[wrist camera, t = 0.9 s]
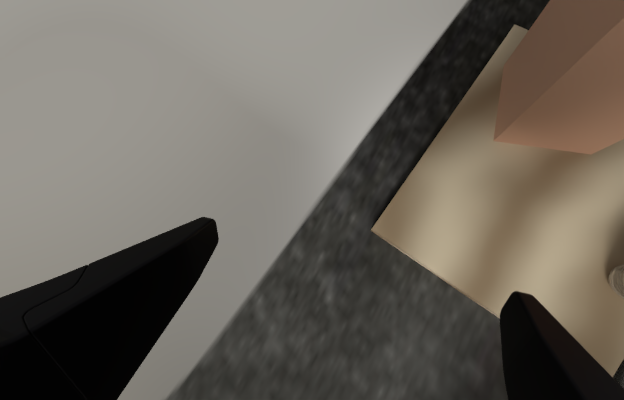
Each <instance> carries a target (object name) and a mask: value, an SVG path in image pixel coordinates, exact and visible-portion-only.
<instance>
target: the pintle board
mask: <svg viewBox="0 0 624 400" xmlns="http://www.w3.org/2000/svg"><path fill="white" fill-rule="evenodd" d="M528 31H529V30H527V29H524V28H522V27H520V26H517V25H514V26H513V27H512V29H511V30H510V32H509V33H508V35H507V36H506V37H505V39H504V40H503V42H502V43H501V45H500V46H499V47H498V49H497V50H496V52H495V53H494V55H493V56H492V58H491V59H490V60H489V62H488V63H487V65H486V66H485V68H484V69H483V70H482V72H481V73H480V75H479V76H478V78H477V79H476V80H475V82H474V83H473V85H472V86H471V88H470V89H469V90H468V92H467V93H466V95H465V96H464V98H463V99H462V100H461V102H460V103H459V105H458V106H457V108H456V109H455V110H454V112H453V113H452V115H451V116H450V118H449V119H448V120H447V122H446V123H445V125H444V126H443V128H442V129H441V130H440V132H439V133H438V135H437V136H436V138H435V139H434V140H433V142H432V143H431V145H430V146H429V148H428V149H427V150H426V152H425V153H424V155H423V156H422V158H421V159H420V161H419V162H418V163H417V165H416V166H415V168H414V169H413V171H412V172H411V173H410V175H409V176H408V178H407V179H406V181H405V182H404V183H403V185H402V186H401V188H400V189H399V191H398V192H397V193H396V195H395V196H394V198H393V199H392V201H391V202H390V203H389V205H388V206H387V208H386V209H385V211H384V212H383V213H382V215H381V216H380V218H379V219H378V221H377V222H376V223H375V225H374V226H373V228H372V229H371V231H372V232H374V233H375V234H377V235H378V236H379V237H381V238H382V239H384V240H385V241H387V242H388V243H390V244H391V245H393V246H394V247H396V248H397V249H398V250H400V251H401V252H403V253H404V254H406V255H407V256H409V257H410V258H412V259H413V260H415V261H416V262H417V263H419V264H420V265H422V266H423V267H425V268H426V269H428V270H429V271H431V272H432V273H434V274H435V275H436V276H438V277H439V278H441V279H442V280H444V281H445V282H447V283H448V284H450V285H451V286H453V287H454V288H455V289H457V290H458V291H460V292H461V293H463V294H464V295H466V296H467V297H469V298H470V299H472V300H473V301H474V302H476V303H477V304H479V305H480V306H482V307H483V308H485V309H486V310H488V311H489V312H491V313H492V314H493V315H495V316H496V317H498V318H499V319H500V312H501V309H502V307H503V306H504V304H505V303H506V301H507V299H508V298H509V296H510V295H511V293H512V292H514V291H519V292H524V293H528V294H531V295H533V296H534V297H535V298H536V299H537V300H538V301H539V302H540V303H541V304H542V305H543V306H544V307H545V308H546V309H547V310H548V311H549V312H550V313H551V314H552V315H553V316H554V317H555V319H556V320H557V321H558V322H559V323H560V324H561V325H562V326H563V327H564V328H565V329H566V330H567V331H568V332H569V333H570V334H571V335H572V336H573V337H574V338H575V339H576V340H577V341H578V342H579V343H580V344H581V345H582V346H583V347H584V348H585V349H586V350H587V352H588V353H589V354H590V355H591V356H592V357H593V358H594V359H595V360H596V361H597V362H598V363H599V364H600V365H601V366H602V367H603V368H604V369H605V370H606V371H607V372H608V373H609V374H610V375H611V376H612V377H613V376H614V374H615V373H616V371H617V369H618V368H619V366H620V364H621V363H622V361H623V359H624V139H623V140H621V141H618V142H616V143H614V144H612V145H610V146H608V147H606V148H604V149H602V150H600V151H598V152H595V153H593V154H591V155H590V154H583V153H576V152H569V151H562V150H554V149H547V148H540V147H533V146H526V145H519V144H511V143H504V142H497V141H493V140H494V132H495V125H496V118H497V111H498V104H499V96H500V89H501V82H502V75H503V68H504V65H505V63H506V62H507V60H508V59H509V58H510V56H511V55H512V53H513V52H514V51H515V49H516V48H517V46H518V45H519V43H520V42H521V41H522V39H523V38H524V36H525V35H526V34H527V32H528Z"/></svg>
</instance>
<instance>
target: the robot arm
mask: <svg viewBox="0 0 624 400" xmlns="http://www.w3.org/2000/svg"><path fill="white" fill-rule="evenodd" d="M217 244H218V232H217V226H216V222H215V220H213V219H211V218H206V217H201V218H199V219H196V220H194V221H191V222H189V223H187V224H184V225H182V226H179V227H177V228H174V229H172V230H170V231H167V232H165V233H162V234H160V235H158V236H155V237H153V238H150V239H148V240H146V241H143V242H141V243H138V244H136V245H134V246H131V247H129V248H126V249H124V250H122V251H119V252H117V253H115V254H112V255H109V256H107V257H105V258H102V259H100V260H97V261H95V262H93V263H90V264H89V265H85V266H83V267H80V268H78V269H76V270H73V271H71V272H68V273H66V274H63V275H61V276H58V277H56V278H53V279H51V280H48V281H45V282H43V283H40V284H37V285H34V286H32V287H29V288H26V289H23V290H20V291H18V292H15V293H12V294H9V295H6V296H4V297H1V298H0V400H117V399H118V397H119V396H120V394H121V393H122V391H123V390H124V388H125V387H126V385H127V384H128V383H129V381H130V380H131V378H132V377H133V375H134V374H135V372H136V371H137V369H138V368H139V366H140V365H141V364H142V362H143V361H144V359H145V358H146V356H147V355H148V353H149V352H150V350H151V349H152V347H153V346H154V345H155V343H156V342H157V340H158V338H159V337H160V336H161V334H162V333H163V331H164V330H165V328H166V327H167V325H168V324H169V322H170V321H171V319H172V318H173V317H174V315H175V314H176V312H177V311H178V309H179V308H180V306H181V305H182V304H183V302H184V301H185V299H186V298H187V296H188V295H189V293H190V292H191V290H192V289H193V287H194V286H195V284H196V282H197V281H198V279H199V278H200V276H201V274H202V272H203V270H204V268H205V266H206V265H207V263H208V261H209V259H210V257H211V255H212V253H213V251H214V250H215V248H216V246H217ZM500 329H501V344H502V359H503V371H504V378H505V384H506V389H507V395H508V400H624V389H623V388H622V387H621V386H620V384H619V383H618V382H617V381H616V380H615V379H614V378H613V377H612V376H611V375H610V374H609V373H608V372H607V371H606V370H605V369H604V368H603V367H602V366H601V365H600V364H599V363H598V362H597V361H596V360H595V359H594V358H593V357H592V356H591V355H590V354H589V353H588V352H587V350H586V349H585V348H584V347H583V346H582V345H581V344H580V343H579V342H578V341H577V340H576V339H575V338H574V337H573V336H572V335H571V334H570V333H569V332H568V331H567V330H566V329H565V328H564V327H563V326H562V325H561V324H560V323H559V322H558V321H557V320H556V319H555V317H554V316H553V315H552V314H551V313H550V312H549V311H548V310H547V309H546V308H545V307H544V306H543V305H542V304H541V303H540V302H539V301H538V300H537V299H536V298H535V297H534V296H533V295H531V294H528V293H524V292H519V291H514V292H512V293H511V295H510V296H509V298H508V299H507V301H506V303H505V304H504V306H503V307H502V309H501V312H500Z"/></svg>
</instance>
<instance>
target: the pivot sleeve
mask: <svg viewBox="0 0 624 400" xmlns="http://www.w3.org/2000/svg"><path fill="white" fill-rule="evenodd" d="M623 139H624V0H550V1H549V2H548V4H547V5H546V7H545V8H544V10H543V11H542V12H541V14H540V15H539V17H538V18H537V19H536V21H535V22H534V24H533V25H532V26H531V28H530V29H529V31H528V32H527V34H526V35H525V36H524V38H523V39H522V41H521V42H520V43H519V45H518V46H517V48H516V49H515V51H514V52H513V53H512V55H511V56H510V58H509V59H508V60H507V62H506V63H505V65H504V68H503V75H502V82H501V89H500V96H499V104H498V111H497V118H496V125H495V132H494V140H493V141H497V142H504V143H511V144H519V145H526V146H533V147H540V148H547V149H554V150H562V151H569V152H576V153H583V154H590V155H591V154H593V153H595V152H598V151H600V150H602V149H604V148H606V147H608V146H610V145H612V144H614V143H616V142H618V141H621V140H623Z"/></svg>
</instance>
